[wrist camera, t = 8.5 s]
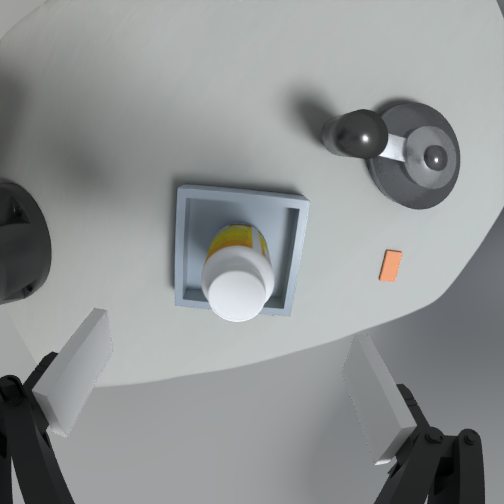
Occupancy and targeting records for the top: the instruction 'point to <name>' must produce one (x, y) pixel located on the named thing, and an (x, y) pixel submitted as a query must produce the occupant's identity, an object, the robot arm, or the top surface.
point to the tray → (238, 211)
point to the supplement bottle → (237, 273)
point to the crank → (393, 146)
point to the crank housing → (389, 170)
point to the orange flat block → (390, 266)
